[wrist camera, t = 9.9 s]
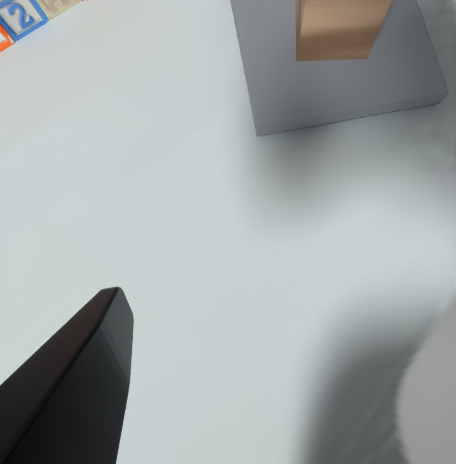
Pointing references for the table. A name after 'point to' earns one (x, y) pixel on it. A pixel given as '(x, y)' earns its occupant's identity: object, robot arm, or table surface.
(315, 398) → the table surface
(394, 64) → the plate
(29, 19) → the stack of blocks
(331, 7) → the tower
